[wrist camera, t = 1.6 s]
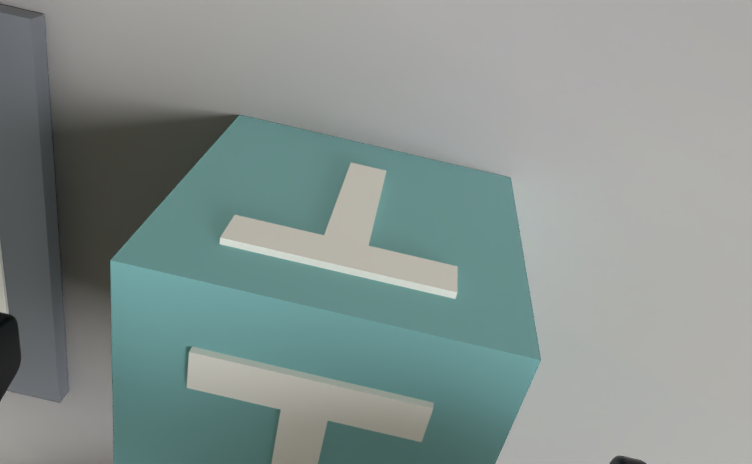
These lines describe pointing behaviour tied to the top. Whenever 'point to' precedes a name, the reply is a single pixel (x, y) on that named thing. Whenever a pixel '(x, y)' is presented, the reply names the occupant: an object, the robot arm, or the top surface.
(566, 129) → the top surface
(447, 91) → the top surface
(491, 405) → the letter cube
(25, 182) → the pad
